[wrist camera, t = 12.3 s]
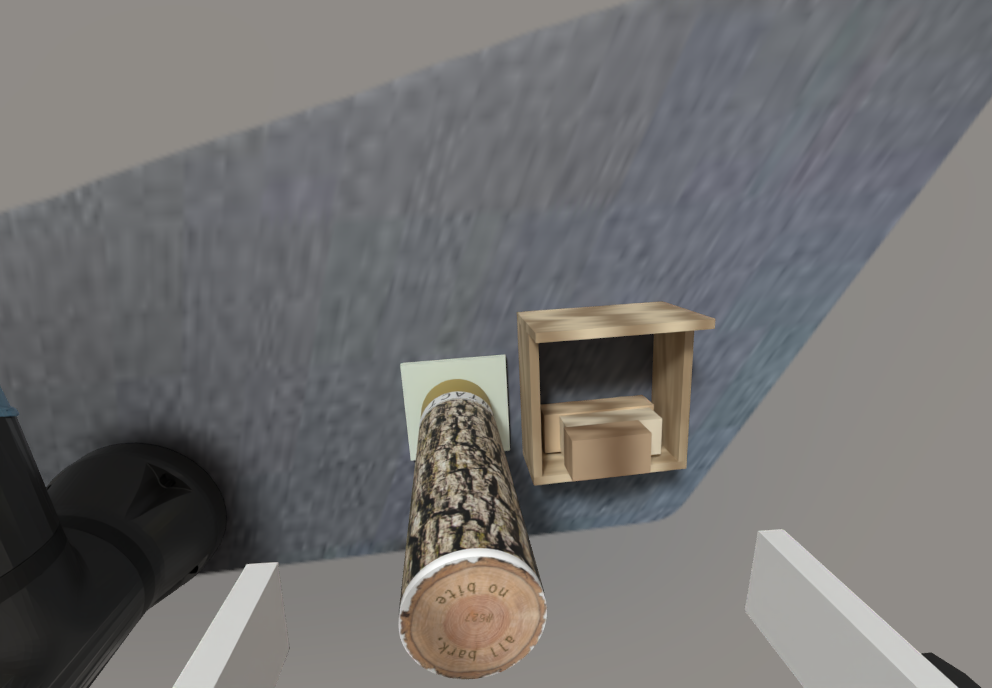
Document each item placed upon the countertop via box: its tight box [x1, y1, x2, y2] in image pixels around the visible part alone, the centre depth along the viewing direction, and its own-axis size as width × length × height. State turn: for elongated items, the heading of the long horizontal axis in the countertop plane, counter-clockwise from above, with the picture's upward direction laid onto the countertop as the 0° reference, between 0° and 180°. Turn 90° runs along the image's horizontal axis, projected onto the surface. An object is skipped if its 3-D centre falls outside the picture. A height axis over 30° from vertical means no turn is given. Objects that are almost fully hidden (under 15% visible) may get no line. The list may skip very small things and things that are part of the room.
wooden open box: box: [517, 302, 715, 485], centre depth 42 cm, size 15×15×9 cm
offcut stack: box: [540, 395, 662, 481], centre depth 43 cm, size 11×4×8 cm, turn 93°
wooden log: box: [399, 379, 547, 679], centre depth 33 cm, size 7×7×25 cm
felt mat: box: [400, 355, 510, 461], centre depth 45 cm, size 10×10×1 cm
